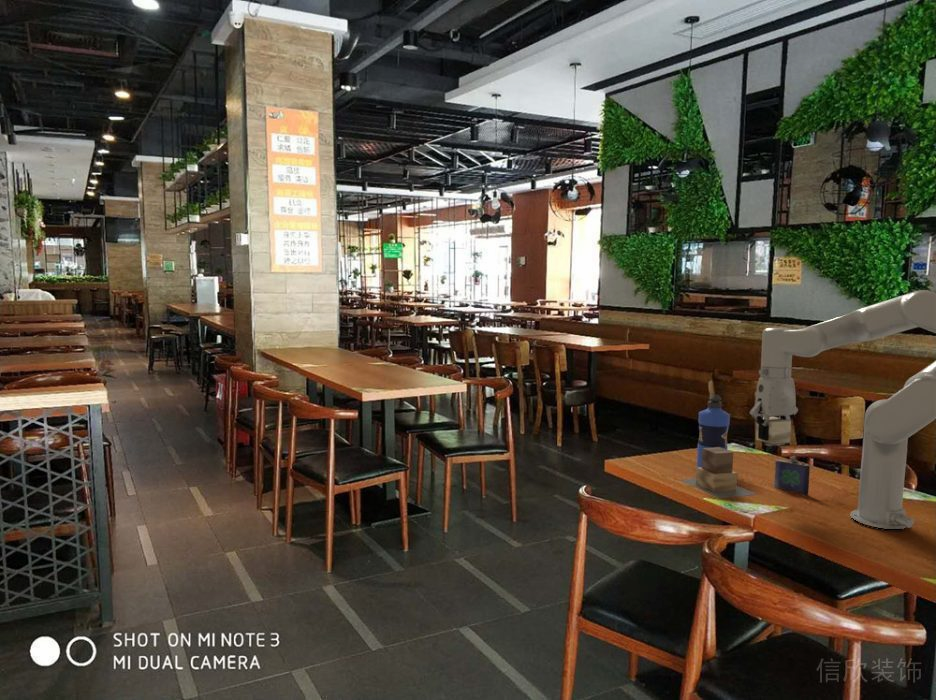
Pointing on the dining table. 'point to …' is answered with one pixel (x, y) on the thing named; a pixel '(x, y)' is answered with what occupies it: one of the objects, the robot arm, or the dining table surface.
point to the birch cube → (777, 431)
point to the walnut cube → (717, 460)
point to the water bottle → (712, 427)
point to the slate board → (721, 494)
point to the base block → (716, 480)
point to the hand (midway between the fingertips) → (773, 437)
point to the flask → (792, 475)
